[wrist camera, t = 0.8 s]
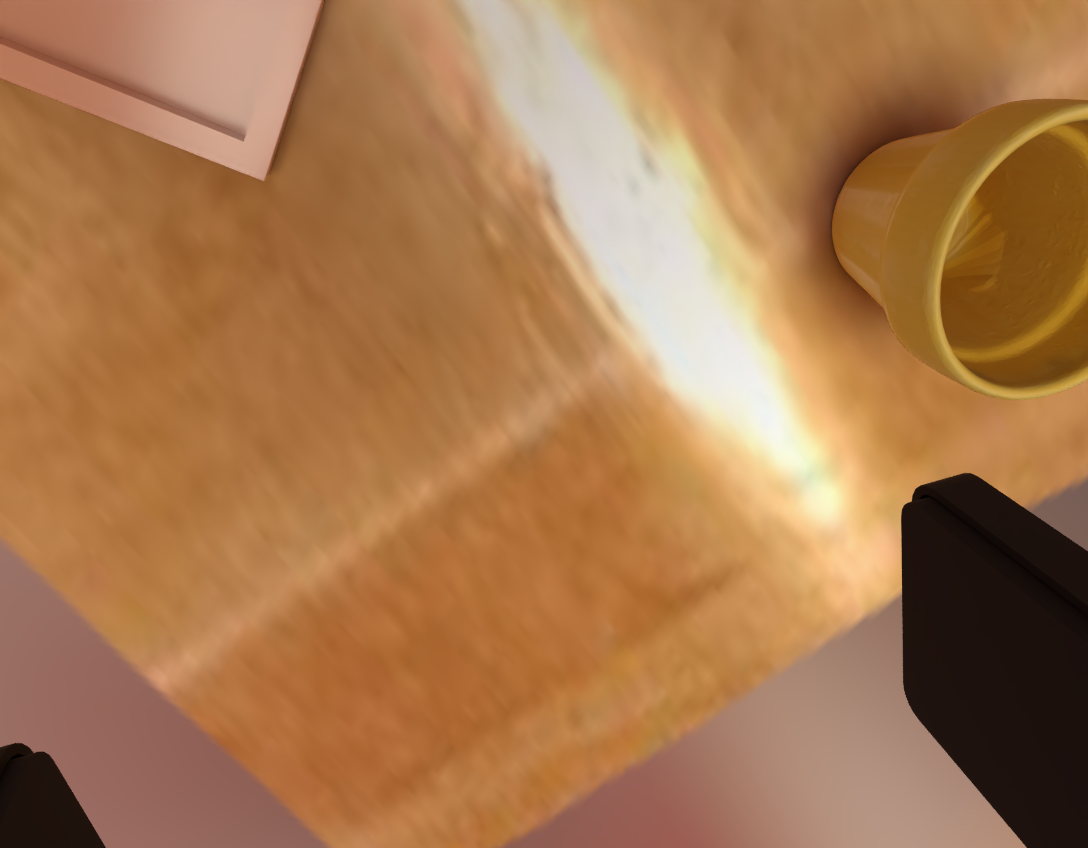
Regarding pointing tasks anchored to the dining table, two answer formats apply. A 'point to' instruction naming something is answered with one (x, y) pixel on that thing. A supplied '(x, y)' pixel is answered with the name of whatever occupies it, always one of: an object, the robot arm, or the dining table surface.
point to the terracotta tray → (169, 67)
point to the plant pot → (980, 246)
